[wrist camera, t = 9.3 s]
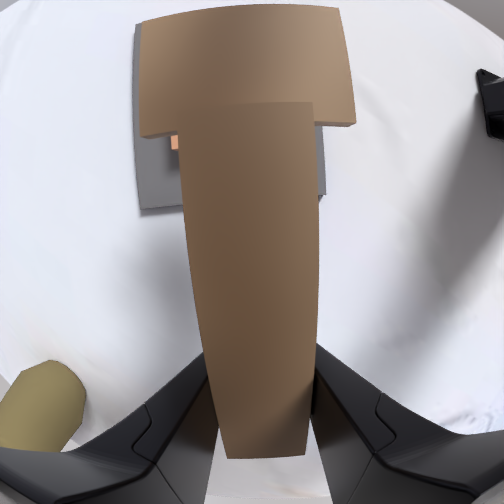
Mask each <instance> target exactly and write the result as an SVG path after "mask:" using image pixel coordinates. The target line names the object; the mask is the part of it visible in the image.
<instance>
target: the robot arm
mask: <svg viewBox="0 0 504 504" xmlns="http://www.w3.org/2000/svg"><path fill="white" fill-rule="evenodd" d="M477 74H478V78H479V83H480V88H481V93H482V98H483V104H484V111H485V118H486V126H487V133H488V135H489V137H491V138H494V139H497V140H501V141H504V77H503V78H501V77H499V76H496V75H494V74H492V73H490V72H488V71H486V70H484V69H479V70H477ZM310 420H311V423H312V427H313V431H314V434H315V438H316V442H317V445H318V449H319V453H320V456H321V460H322V464H323V467H324V471H325V475H326V479H327V482H328V486H329V490H330V494H331V498H332V501H333V504H504V430H499V431H493V432H486V433H479V434H471V435H464V434H458V433H454V432H451V431H449V430H447V429H445V428H443V427H441V426H439V425H437V424H435V423H433V422H431V421H429V420H427V419H425V418H423V417H422V416H420V415H418V414H416V413H414V412H413V411H411V410H409V409H407V408H406V407H404V406H402V405H401V404H399V403H398V402H396V401H395V400H393V399H392V398H390V397H389V396H388V395H386V394H385V393H382V391H380V390H379V389H378V388H376V387H375V386H374V385H372V384H371V383H369V382H368V381H367V380H365V379H364V378H363V377H361V376H360V375H359V374H357V373H356V372H355V371H353V370H352V369H351V368H349V367H348V366H346V365H345V364H344V363H342V362H341V361H340V360H338V359H337V358H336V357H335V356H333V355H332V354H331V353H329V352H328V351H327V350H325V349H324V348H323V347H321V346H320V345H319V344H317V343H316V353H315V367H314V380H313V391H312V401H311V411H310ZM218 429H219V424H218V420H217V415H216V411H215V406H214V402H213V397H212V393H211V388H210V383H209V378H208V373H207V368H206V363H205V358H204V352H202V353H201V354H200V355H199V356H198V357H197V358H195V359H194V360H193V361H192V362H191V363H190V364H189V365H188V366H186V367H185V368H184V369H183V370H182V371H181V372H180V373H178V374H177V375H176V376H175V377H174V378H173V379H172V380H170V381H169V382H168V383H167V384H166V385H165V386H163V387H162V388H161V389H160V390H159V391H158V392H156V393H155V394H154V395H153V396H152V397H151V398H149V399H148V400H147V401H146V402H145V404H142V405H141V406H140V407H139V408H137V409H136V410H135V411H134V412H132V413H131V414H130V415H128V416H127V417H126V418H125V419H123V420H122V421H120V422H119V423H117V424H116V425H114V426H113V427H111V428H110V429H108V430H107V431H105V432H104V433H102V434H100V435H99V436H97V437H95V438H94V439H92V440H91V441H89V442H87V443H86V444H84V445H82V446H80V447H78V448H76V449H74V450H71V451H67V452H42V451H29V450H20V449H12V448H5V447H0V504H204V500H205V495H206V490H207V485H208V480H209V475H210V470H211V464H212V459H213V454H214V449H215V444H216V439H217V434H218Z"/></svg>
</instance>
